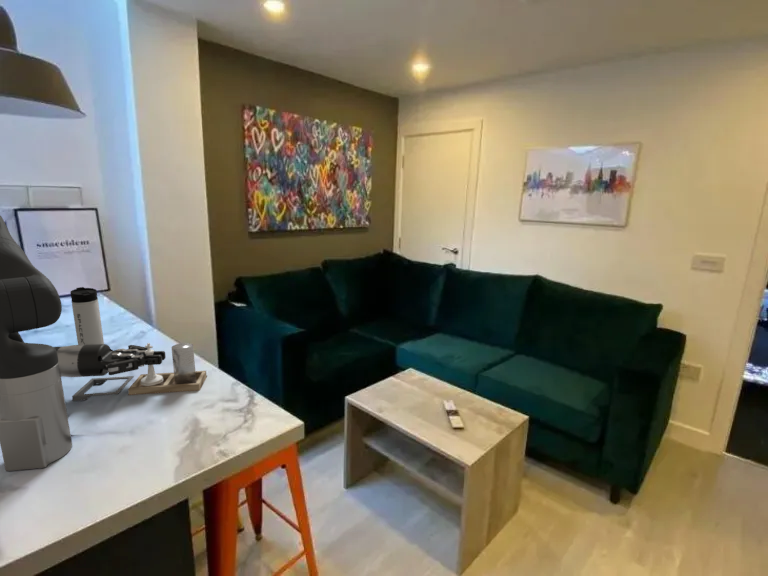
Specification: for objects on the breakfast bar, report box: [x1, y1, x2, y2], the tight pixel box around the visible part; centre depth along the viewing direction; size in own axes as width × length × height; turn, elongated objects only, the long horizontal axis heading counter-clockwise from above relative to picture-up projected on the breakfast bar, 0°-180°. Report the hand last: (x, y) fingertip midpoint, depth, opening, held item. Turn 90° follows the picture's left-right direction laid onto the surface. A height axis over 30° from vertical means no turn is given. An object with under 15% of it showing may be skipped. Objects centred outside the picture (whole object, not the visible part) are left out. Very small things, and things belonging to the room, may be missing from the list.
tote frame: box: [71, 375, 134, 402], centre depth 101 cm, size 10×10×1 cm
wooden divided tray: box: [127, 370, 208, 396], centre depth 102 cm, size 8×16×2 cm, turn 101°
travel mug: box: [69, 286, 105, 345], centre depth 121 cm, size 6×7×20 cm
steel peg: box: [171, 342, 196, 384], centre depth 102 cm, size 5×5×10 cm
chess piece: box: [141, 342, 163, 386], centre depth 100 cm, size 5×5×10 cm
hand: (163, 357), depth 101 cm, fingers closed on chess piece
